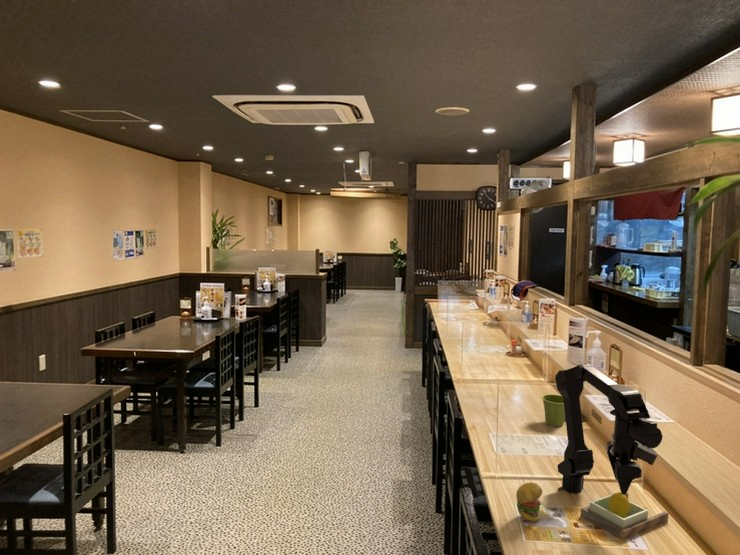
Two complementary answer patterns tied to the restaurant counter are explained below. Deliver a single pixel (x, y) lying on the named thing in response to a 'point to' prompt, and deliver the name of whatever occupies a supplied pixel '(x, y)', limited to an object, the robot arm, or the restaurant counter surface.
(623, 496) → the lemon
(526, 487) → the hamburger
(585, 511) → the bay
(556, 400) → the plant pot
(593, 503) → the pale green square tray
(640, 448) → the robot arm
